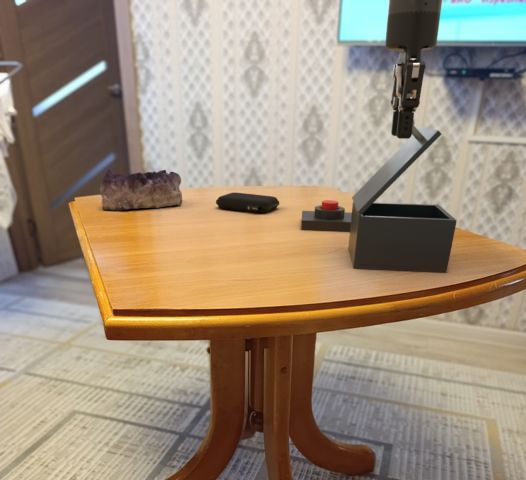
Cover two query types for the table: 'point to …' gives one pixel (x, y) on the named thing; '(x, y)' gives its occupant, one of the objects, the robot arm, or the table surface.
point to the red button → (330, 205)
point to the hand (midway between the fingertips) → (400, 136)
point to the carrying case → (247, 202)
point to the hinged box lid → (394, 167)
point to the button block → (326, 220)
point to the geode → (140, 190)
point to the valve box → (401, 237)
